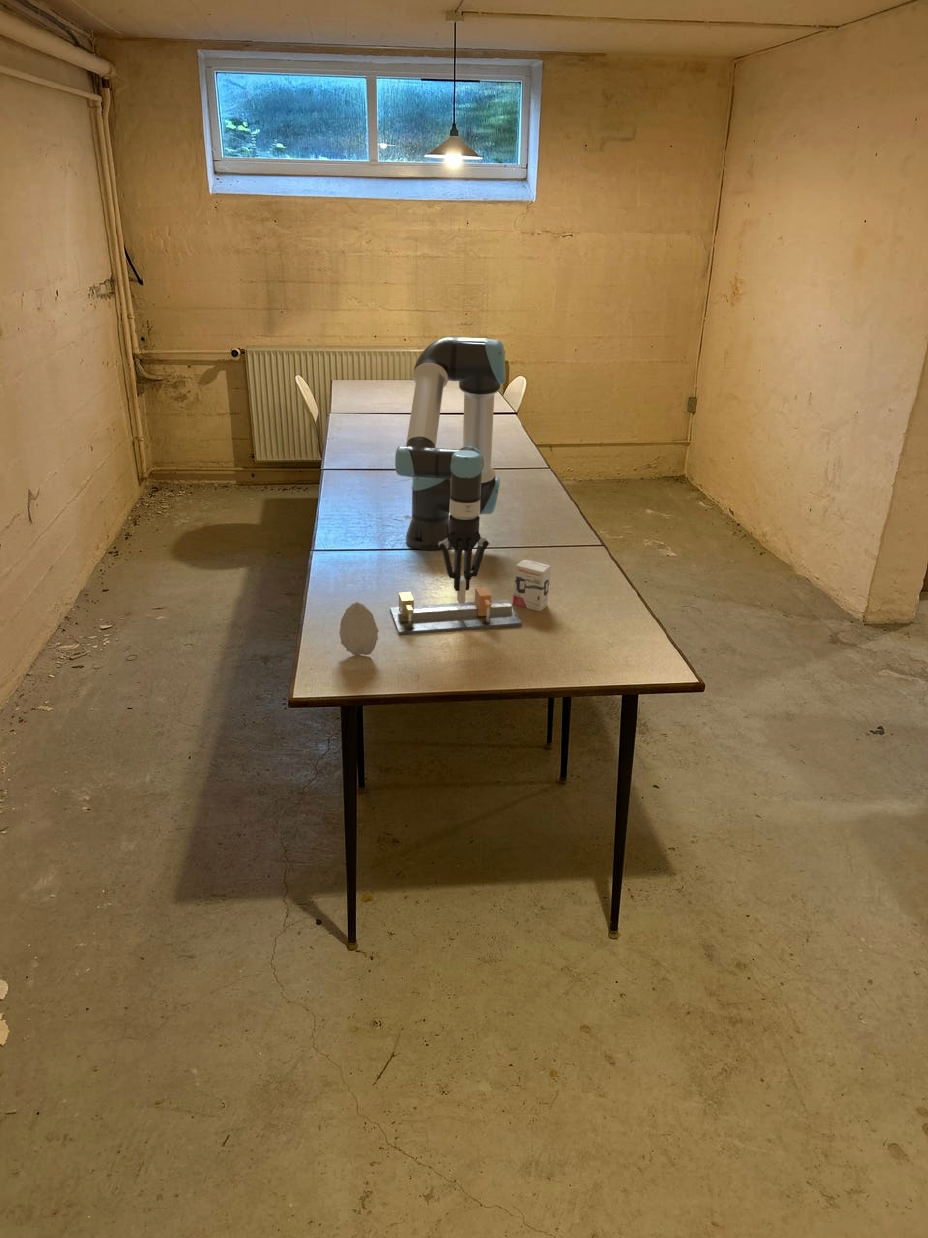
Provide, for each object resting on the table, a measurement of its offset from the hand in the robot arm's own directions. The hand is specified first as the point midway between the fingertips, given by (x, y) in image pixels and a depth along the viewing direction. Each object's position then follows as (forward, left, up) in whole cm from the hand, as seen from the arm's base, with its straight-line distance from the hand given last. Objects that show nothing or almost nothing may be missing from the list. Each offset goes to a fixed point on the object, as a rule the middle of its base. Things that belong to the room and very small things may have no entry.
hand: (461, 601), depth 219 cm
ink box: (-5, +21, -5) cm, 22 cm away
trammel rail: (+2, -1, -4) cm, 4 cm away
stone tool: (+16, -28, -5) cm, 33 cm away
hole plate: (0, -1, -5) cm, 5 cm away
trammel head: (+2, +6, -4) cm, 7 cm away
